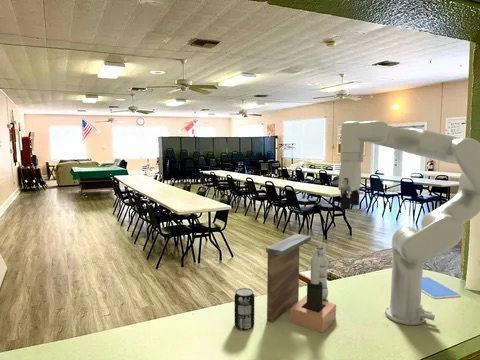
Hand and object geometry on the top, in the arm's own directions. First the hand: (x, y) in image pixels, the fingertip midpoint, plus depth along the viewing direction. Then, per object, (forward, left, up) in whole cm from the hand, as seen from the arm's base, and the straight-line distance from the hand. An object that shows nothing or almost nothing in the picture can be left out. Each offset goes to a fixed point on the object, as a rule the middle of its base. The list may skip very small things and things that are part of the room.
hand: (349, 206), depth 123 cm
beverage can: (+24, +30, -38) cm, 54 cm away
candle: (+7, +13, -38) cm, 41 cm away
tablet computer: (-22, -41, -39) cm, 61 cm away
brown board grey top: (+16, +13, -38) cm, 44 cm away
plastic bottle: (+12, -4, -38) cm, 41 cm away
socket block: (+7, +13, -38) cm, 41 cm away
